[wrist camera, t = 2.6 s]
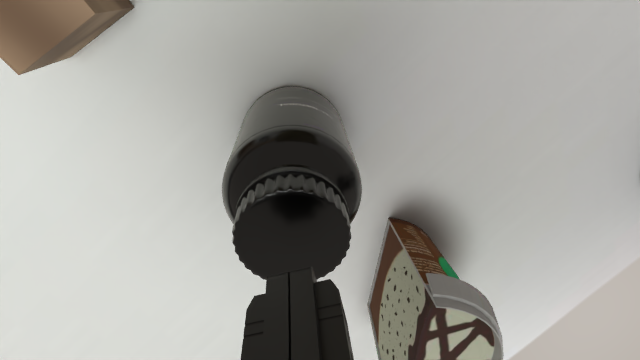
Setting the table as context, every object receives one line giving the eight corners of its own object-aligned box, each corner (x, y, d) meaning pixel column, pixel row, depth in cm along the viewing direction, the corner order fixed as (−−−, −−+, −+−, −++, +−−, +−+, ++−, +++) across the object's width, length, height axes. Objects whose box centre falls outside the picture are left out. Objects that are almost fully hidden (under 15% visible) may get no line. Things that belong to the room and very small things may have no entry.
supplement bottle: (322, 67, 23) (351, 136, 13) (354, 159, 27) (399, 275, 16) (223, 105, 24) (172, 202, 14) (265, 191, 27) (252, 322, 17)
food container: (428, 318, 35) (476, 431, 26) (364, 316, 34) (391, 432, 25) (467, 206, 29) (545, 302, 21) (392, 201, 29) (439, 299, 20)
